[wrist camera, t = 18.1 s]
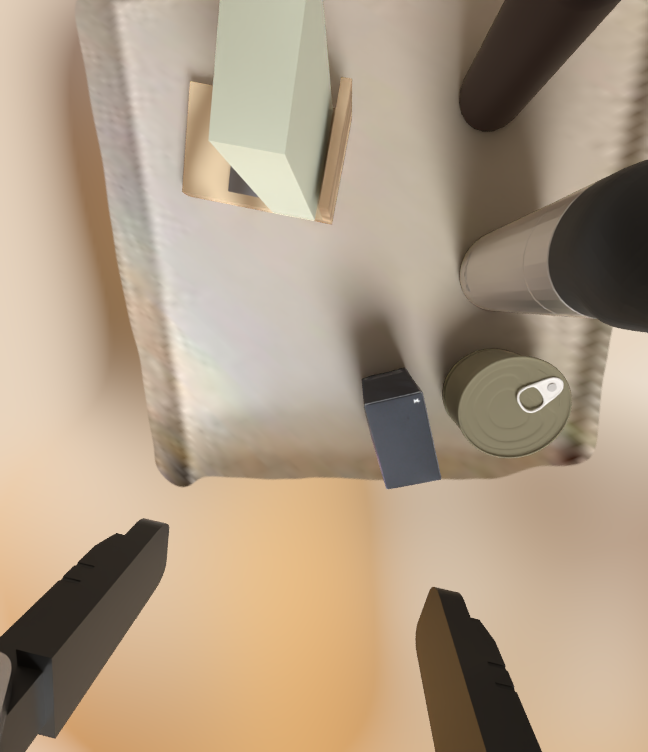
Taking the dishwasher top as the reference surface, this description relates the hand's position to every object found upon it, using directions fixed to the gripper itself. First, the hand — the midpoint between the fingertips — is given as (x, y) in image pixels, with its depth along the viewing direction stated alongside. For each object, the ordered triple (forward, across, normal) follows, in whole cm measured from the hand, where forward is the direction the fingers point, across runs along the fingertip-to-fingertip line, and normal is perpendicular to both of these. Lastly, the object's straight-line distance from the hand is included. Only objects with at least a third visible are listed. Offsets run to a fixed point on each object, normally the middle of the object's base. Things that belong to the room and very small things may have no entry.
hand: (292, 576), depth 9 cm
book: (+32, +9, -22) cm, 39 cm away
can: (+33, -20, 0) cm, 39 cm away
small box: (+33, -9, +5) cm, 35 cm away
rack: (+33, +13, -22) cm, 42 cm away
